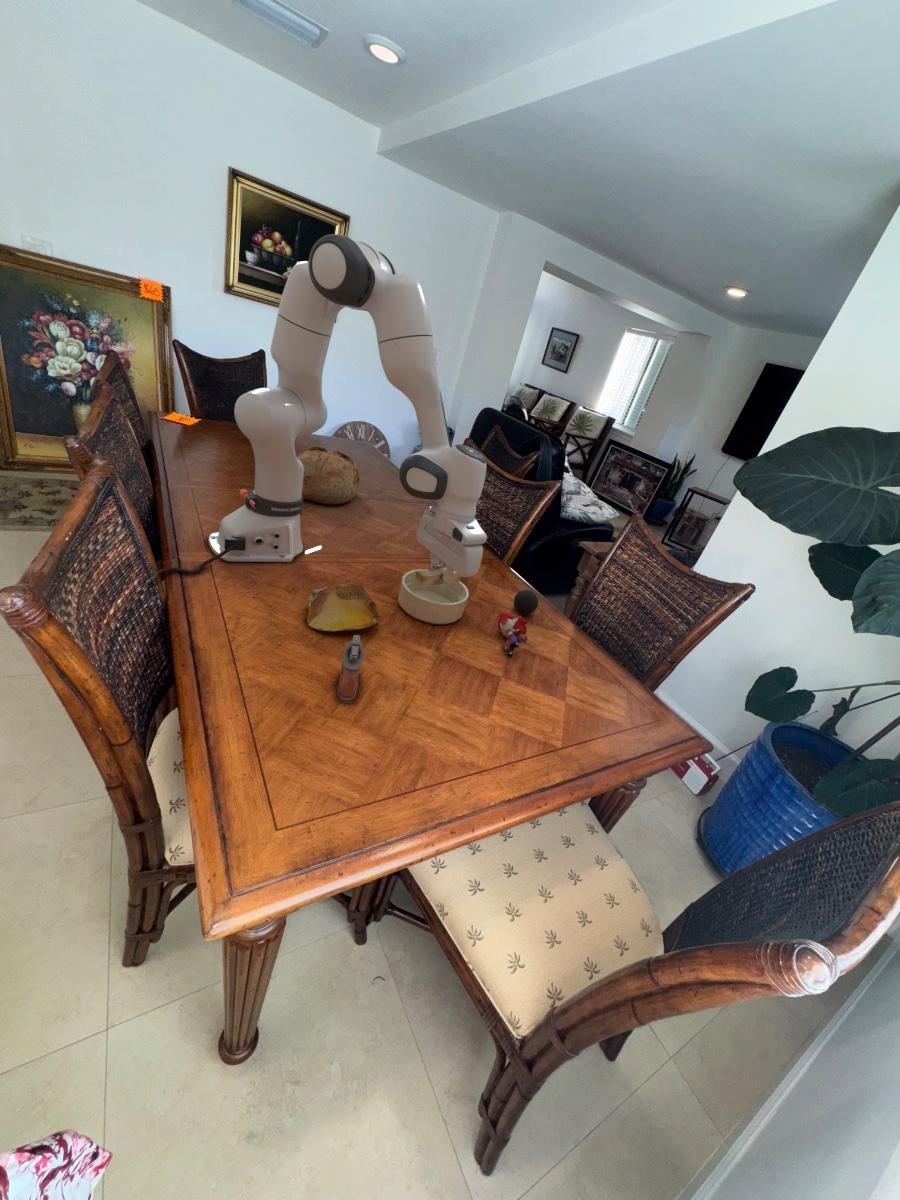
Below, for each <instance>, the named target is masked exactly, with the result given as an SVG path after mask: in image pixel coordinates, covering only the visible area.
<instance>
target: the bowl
mask: <svg viewBox="0 0 900 1200" xmlns="http://www.w3.org/2000/svg"><path fill="white" fill-rule="evenodd" d="M420 570H426V569H425V568H423V569H421V568H419V569H413V570H410V571H407V572H406V573H405V574H403V576H402V577H401V582H400V586H399V591H398V595H397V603H398V604H399V606H400V608H401V609H403V611H404V612H405V613H406V614H407V615H409V616H411V617H412V618H414V619H416V620H419V621H420V622H425V623H427V624H432V625H447V624H451V623H454V622H456V621H459V620H460V619H461V618H462V617H463V615H464V613H465V610H466V607H467V603H468V600H469V597H470V595H469V589H468V588H467V586H466V585H465V584H464V583H463V582H462V581H460V582H453V583H446V584H439V585H432V586H425V587H420V586H419V585H418V584H417V583H416V582H415V576H416V572H417V571H420Z"/></svg>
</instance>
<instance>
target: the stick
mask: <svg viewBox="0 0 900 1200" xmlns="http://www.w3.org/2000/svg"><path fill="white" fill-rule="evenodd" d="M446 570H447V568H441V567H440V568H437V569H430V568H429V569H425V570H420V571H417V572H416V576H415V582H416V583H417V584H418V585H419V586H420V587H425V586H432V585H439V584H446V583H453V582H462V579H463V577H462V576H460V575H459V574H458V573H457V572H455V571H454V572H453V573H452V574H451V576H450V579H449V580H448V581H444V580H442V579H441V578H440V576H441V572H445V571H446Z"/></svg>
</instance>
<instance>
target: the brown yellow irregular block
mask: <svg viewBox="0 0 900 1200" xmlns="http://www.w3.org/2000/svg"><path fill="white" fill-rule="evenodd" d="M306 606H307V611H308V613H307V617H306V622H307V625H308V626H309V627H310V628H312V629H313V630H314V629H315V630H317V631H323V632H338V631H339V632H344V631H355V630H356V631H358V630H364V629H367V628H369V627H372V626H376V625H377V623H378V622H379V620H380V616H379V612H378V606H377V604H376V603H375V601H374V599H373V598H372V597H371V596H370V595H369V594H368V592H367V591H366V589H365V588H364V586H363V585H362V584H359V583H345V584H341V585H340V584H339V585H334V586H330V587H325V588H317V587H315V588H313V589H312V590H311V593H310V596H309V597H308V599H307V604H306Z"/></svg>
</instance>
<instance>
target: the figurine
mask: <svg viewBox="0 0 900 1200" xmlns="http://www.w3.org/2000/svg"><path fill="white" fill-rule="evenodd" d="M529 623H530V621H529V620H525V619H524V618H523V617H522V615H519V616H517V617H516V616H515V615H514V614H512V613H507V612H501V613H499V614H498V620H497V627H498V629H499V630H500V632H501V633H502V635H503V636H504V637H505V639H506V642H505V648H504V650H506V649H507V652H508V653H507V656H508V657H509V658H512V657H513V652H514V650H515V649H516V648H519V647H520V645H519V643H518V642H519V641H520V642H521V643H524V644H526V643H528V641H529V638H528V636H527V632H528V626H527V624H529ZM521 635H525V637H524V638H522V637H520V636H521Z"/></svg>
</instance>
